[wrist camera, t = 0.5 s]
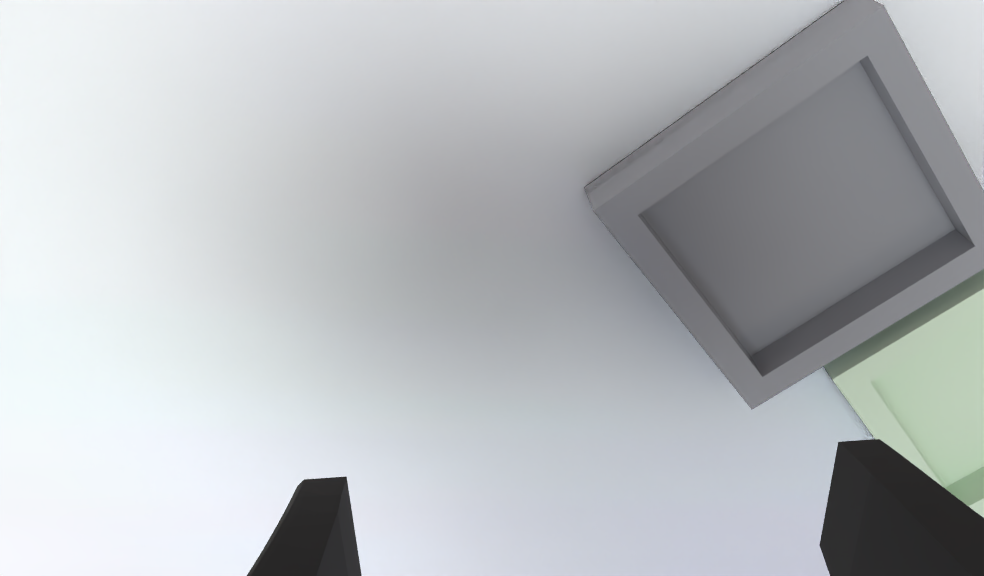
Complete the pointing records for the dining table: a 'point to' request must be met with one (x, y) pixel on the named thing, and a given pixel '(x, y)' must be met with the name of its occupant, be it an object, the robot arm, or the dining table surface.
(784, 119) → the grey dish
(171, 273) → the dining table surface
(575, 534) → the dining table surface
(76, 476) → the dining table surface
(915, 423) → the green dish
